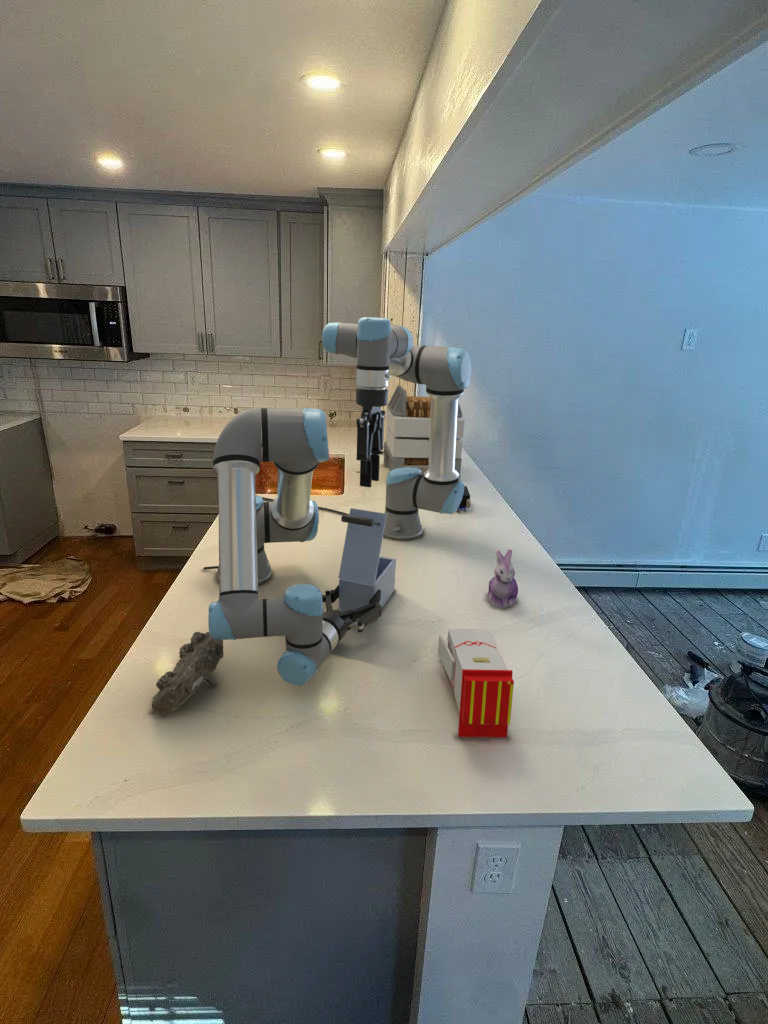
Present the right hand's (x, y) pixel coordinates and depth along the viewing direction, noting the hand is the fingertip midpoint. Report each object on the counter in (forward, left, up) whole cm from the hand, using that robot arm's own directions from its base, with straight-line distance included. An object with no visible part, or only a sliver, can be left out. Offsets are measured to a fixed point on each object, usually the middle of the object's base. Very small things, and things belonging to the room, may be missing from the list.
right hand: (369, 483), depth 140 cm
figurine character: (-39, +81, -34) cm, 96 cm away
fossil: (+5, -49, -34) cm, 60 cm away
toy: (+42, -5, -34) cm, 54 cm away
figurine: (+21, +32, -34) cm, 51 cm away
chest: (-1, +2, -34) cm, 34 cm away
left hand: (+2, -3, -28) cm, 28 cm away
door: (+2, -3, -16) cm, 16 cm away
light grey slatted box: (-85, +102, -34) cm, 137 cm away
